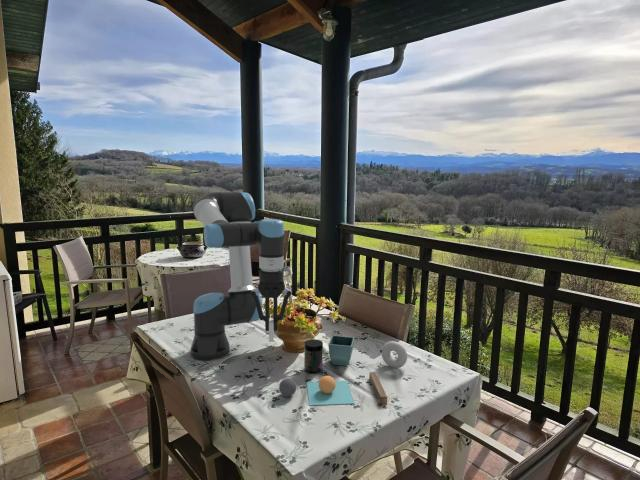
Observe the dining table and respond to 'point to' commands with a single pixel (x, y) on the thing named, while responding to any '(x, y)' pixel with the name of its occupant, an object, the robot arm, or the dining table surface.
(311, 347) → the supplement container
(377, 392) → the strip
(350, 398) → the teal mark
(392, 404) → the dining table surface
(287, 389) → the dark grey ball
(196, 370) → the dining table surface
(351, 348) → the flower pot
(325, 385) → the object ball
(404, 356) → the donut
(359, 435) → the dining table surface
